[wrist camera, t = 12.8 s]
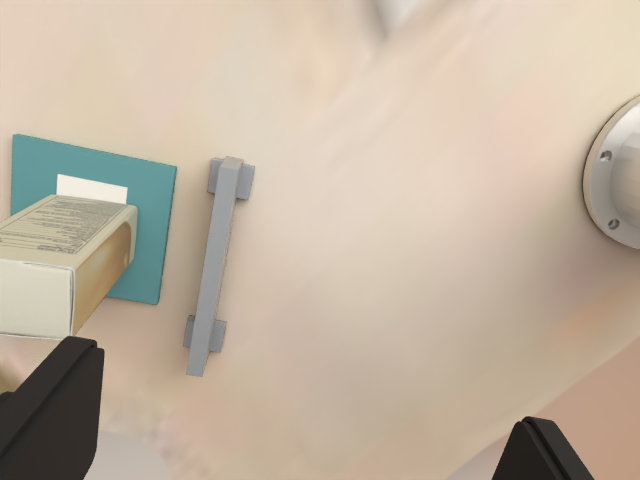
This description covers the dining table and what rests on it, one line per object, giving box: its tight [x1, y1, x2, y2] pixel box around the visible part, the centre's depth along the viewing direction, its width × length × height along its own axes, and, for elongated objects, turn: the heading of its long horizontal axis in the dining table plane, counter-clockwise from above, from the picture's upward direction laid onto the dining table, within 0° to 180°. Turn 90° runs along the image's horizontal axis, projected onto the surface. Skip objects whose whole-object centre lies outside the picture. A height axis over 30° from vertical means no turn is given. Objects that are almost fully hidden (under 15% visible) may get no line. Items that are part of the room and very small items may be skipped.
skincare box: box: [0, 195, 138, 340], centre depth 30 cm, size 6×4×12 cm
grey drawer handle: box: [183, 156, 255, 377], centre depth 36 cm, size 3×16×4 cm, turn 167°
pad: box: [11, 134, 177, 305], centre depth 36 cm, size 11×11×1 cm
